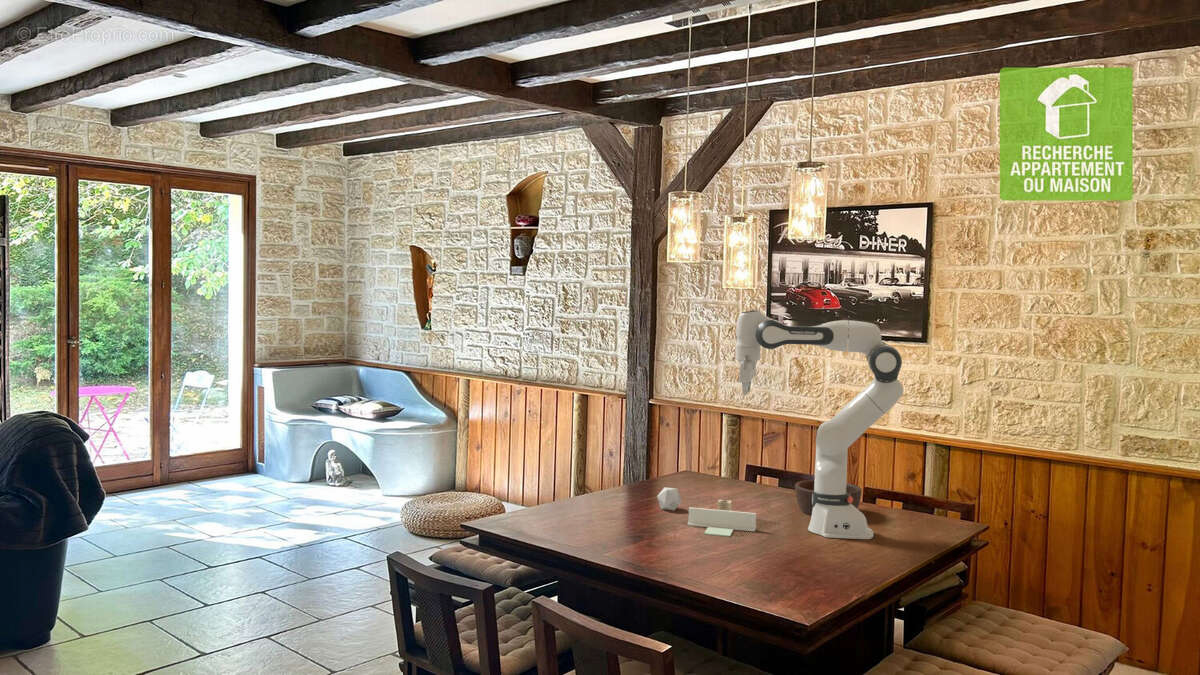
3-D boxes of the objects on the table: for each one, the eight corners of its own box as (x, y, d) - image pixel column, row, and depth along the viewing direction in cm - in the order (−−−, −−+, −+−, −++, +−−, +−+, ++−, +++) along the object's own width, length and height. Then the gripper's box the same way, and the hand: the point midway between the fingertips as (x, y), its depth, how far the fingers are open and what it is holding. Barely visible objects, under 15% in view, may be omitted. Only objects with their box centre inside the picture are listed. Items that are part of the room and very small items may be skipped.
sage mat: (733, 530, 320) (733, 529, 320) (730, 536, 311) (730, 535, 311) (707, 527, 322) (708, 526, 322) (704, 534, 314) (704, 533, 314)
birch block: (730, 522, 332) (731, 500, 332) (729, 524, 328) (730, 502, 327) (718, 520, 333) (719, 499, 333) (717, 523, 329) (717, 501, 328)
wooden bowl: (868, 521, 339) (869, 494, 338) (801, 519, 339) (802, 492, 339) (851, 505, 364) (852, 480, 363) (788, 504, 364) (789, 478, 364)
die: (666, 514, 343) (682, 494, 343) (649, 499, 348) (665, 479, 348) (673, 518, 351) (689, 497, 351) (656, 503, 355) (672, 483, 355)
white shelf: (756, 528, 323) (756, 512, 323) (754, 531, 319) (755, 514, 319) (689, 522, 329) (690, 506, 329) (687, 525, 325) (688, 508, 325)
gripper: (753, 357, 316) (752, 396, 317) (758, 353, 336) (757, 390, 337) (735, 356, 318) (734, 395, 319) (741, 353, 338) (740, 389, 338)
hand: (746, 393), depth 328 cm, fingers open, 8 cm apart
